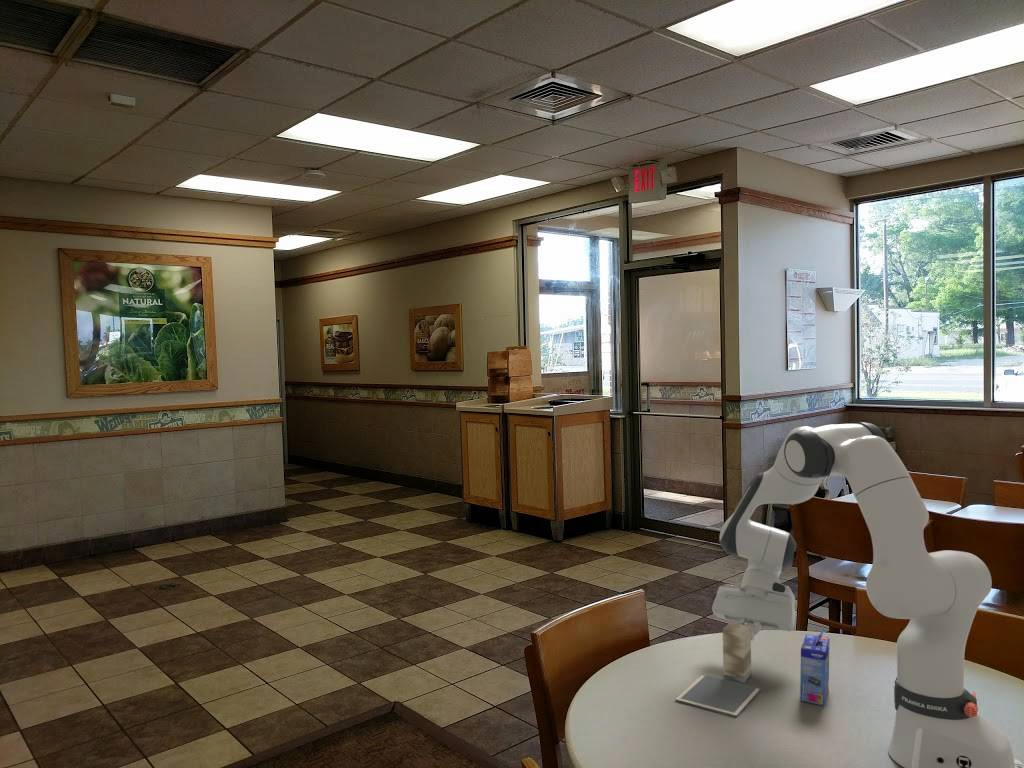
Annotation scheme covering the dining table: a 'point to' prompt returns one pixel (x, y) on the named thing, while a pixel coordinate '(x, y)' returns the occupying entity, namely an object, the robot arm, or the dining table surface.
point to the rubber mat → (718, 695)
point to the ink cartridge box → (814, 669)
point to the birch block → (737, 652)
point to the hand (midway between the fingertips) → (746, 638)
